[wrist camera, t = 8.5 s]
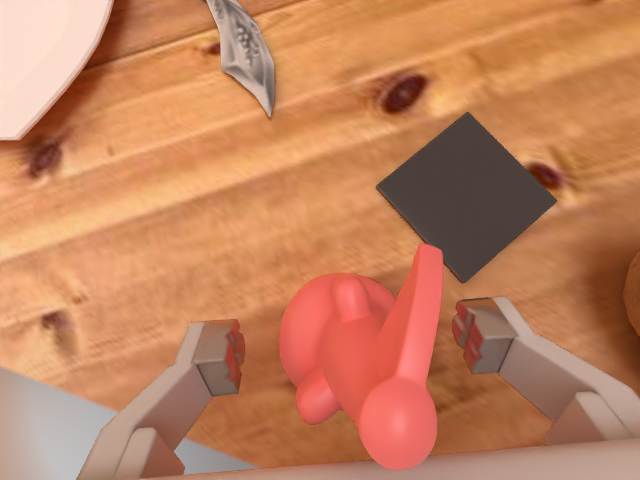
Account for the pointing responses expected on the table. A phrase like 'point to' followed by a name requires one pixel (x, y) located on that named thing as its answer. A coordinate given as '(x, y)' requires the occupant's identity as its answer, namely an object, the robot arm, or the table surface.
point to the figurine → (368, 357)
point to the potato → (633, 293)
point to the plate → (43, 55)
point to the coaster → (466, 196)
